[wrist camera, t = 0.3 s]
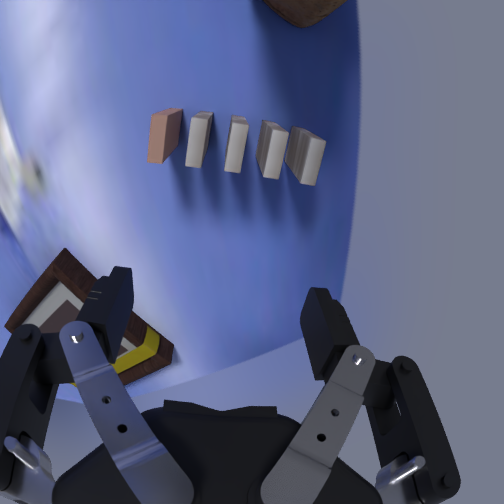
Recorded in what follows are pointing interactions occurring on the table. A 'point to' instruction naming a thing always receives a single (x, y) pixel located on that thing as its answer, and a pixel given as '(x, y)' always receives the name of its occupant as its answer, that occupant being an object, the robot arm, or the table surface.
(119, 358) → the picture frame
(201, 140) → the domino
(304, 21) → the block
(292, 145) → the domino
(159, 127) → the domino
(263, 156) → the domino
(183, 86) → the table surface
